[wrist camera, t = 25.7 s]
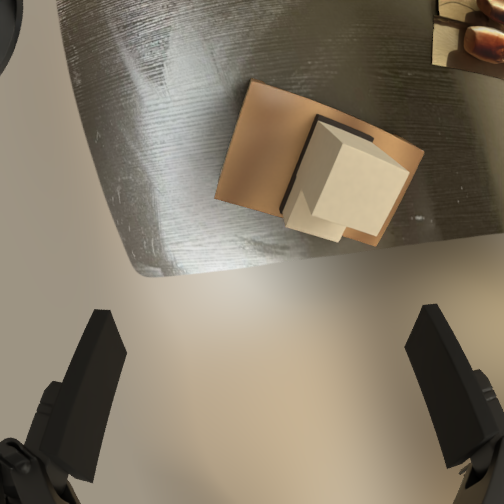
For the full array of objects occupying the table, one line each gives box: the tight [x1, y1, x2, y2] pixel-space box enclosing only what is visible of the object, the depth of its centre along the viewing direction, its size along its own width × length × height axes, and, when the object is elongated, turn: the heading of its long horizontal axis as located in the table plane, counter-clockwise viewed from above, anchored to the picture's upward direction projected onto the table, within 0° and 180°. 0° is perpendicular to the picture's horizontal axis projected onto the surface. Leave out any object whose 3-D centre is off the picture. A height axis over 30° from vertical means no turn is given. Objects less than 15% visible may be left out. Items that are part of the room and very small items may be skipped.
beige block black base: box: [279, 114, 409, 242], centre depth 28 cm, size 11×6×10 cm, turn 162°
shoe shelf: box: [214, 78, 424, 246], centre depth 35 cm, size 20×13×6 cm, turn 72°
